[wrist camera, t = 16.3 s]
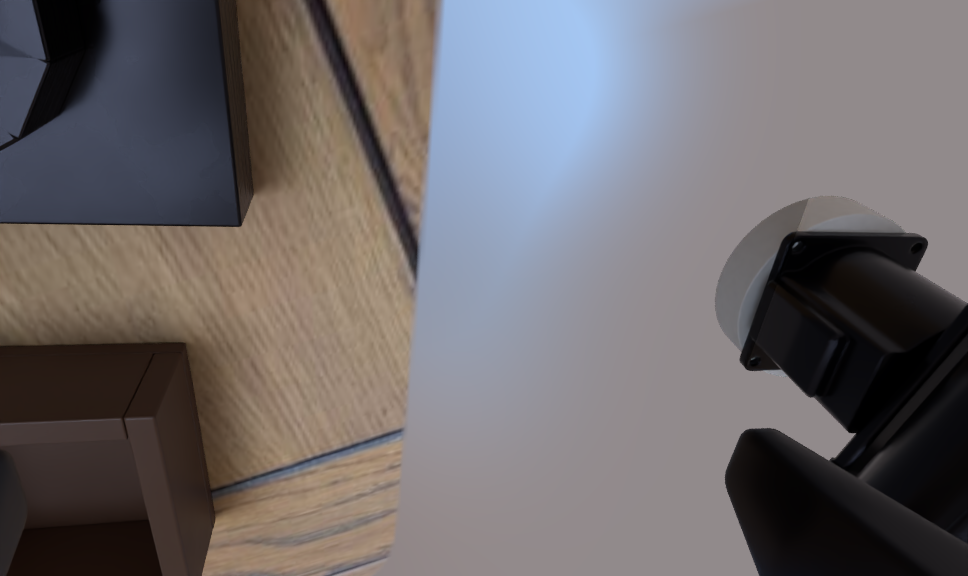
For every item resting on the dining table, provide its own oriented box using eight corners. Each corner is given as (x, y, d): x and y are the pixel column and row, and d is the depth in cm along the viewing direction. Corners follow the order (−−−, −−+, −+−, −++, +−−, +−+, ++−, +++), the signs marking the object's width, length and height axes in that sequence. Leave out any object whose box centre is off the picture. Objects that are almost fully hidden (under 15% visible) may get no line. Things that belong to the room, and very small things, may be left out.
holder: (186, 342, 19) (154, 416, 16) (216, 519, 23) (195, 605, 20) (-116, 348, 18) (-211, 432, 15) (-29, 537, 22) (-91, 633, 19)
